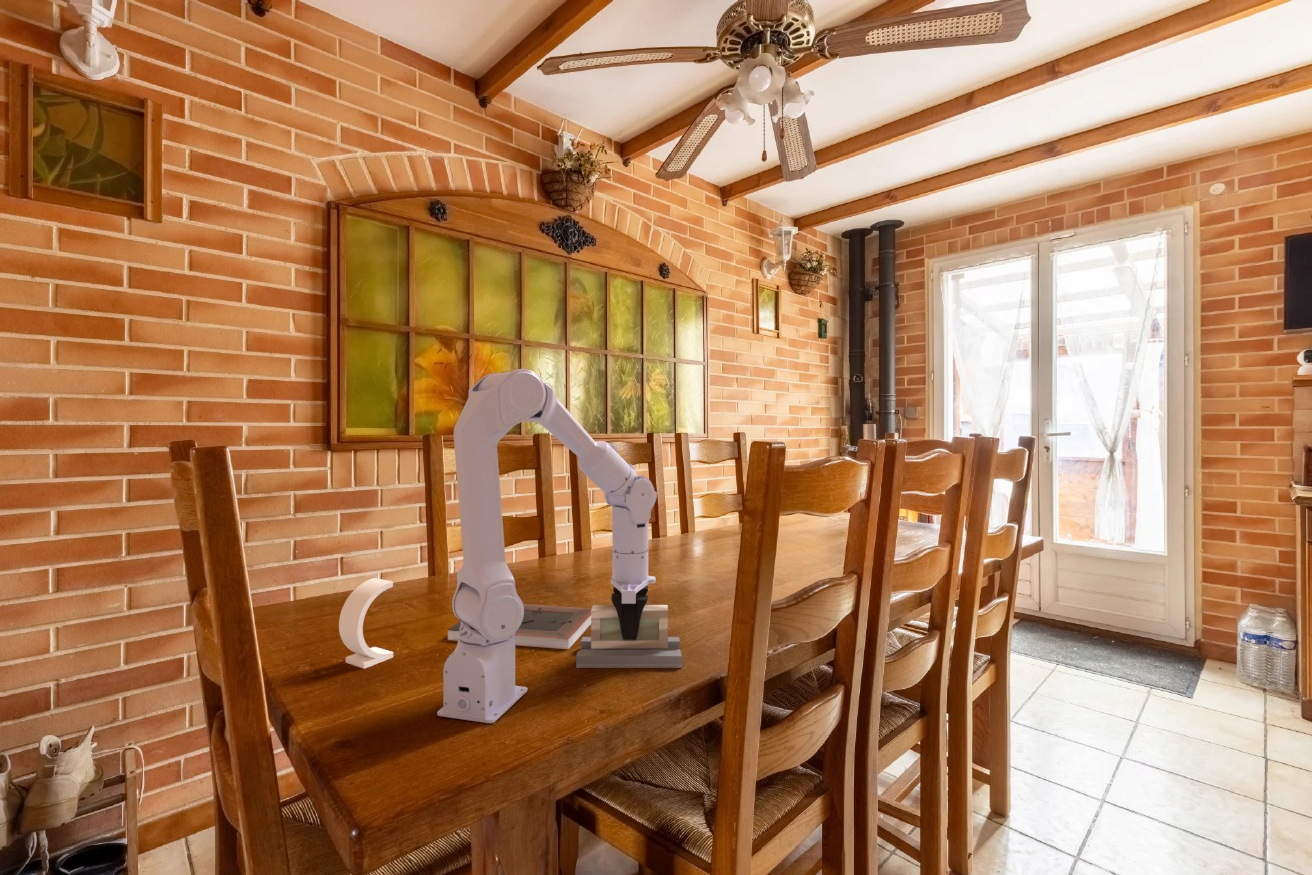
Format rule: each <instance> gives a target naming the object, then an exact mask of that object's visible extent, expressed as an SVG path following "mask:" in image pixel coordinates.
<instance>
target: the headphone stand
mask: <svg viewBox="0 0 1312 875" xmlns="http://www.w3.org/2000/svg"><path fill="white" fill-rule="evenodd" d="M393 587H394V581H391V580H386V579H381V578H377V577H373V578H371V579H368V580H366V581H364V582H361V584H359V585H358V586H357V587H356V588H354V590H353V591H352V592H351V593H350V594H349V596H348V597H347V598H346V600H345V602H344V604H343V606H342V608H341V611H340V615H339V619H338V632H339V636H340V639H341V641H342V642H343V644H344V646H346V648H347V649H348V650H350V651H351V652H353V653H354V654H351V655H348V656H346V657H345V663H347V664H349V665H351V666H355V667H358V668H360V669H363V670H364V669H368V668H370V667H372V666H375V665H377V664H379V663H382V662H385V661H388V660H390V659H392V658H394V651H392V650H391V651H390V650H387V649H384V648H381V647H377V646H372V647H369V645H368V644H367V643H366V640H365V637H364V630H363V627H364V621H365V617H366V614H367V611H368V610H369V607H370V606H371V604H372V603H373V602H374V601H375V599H376V598H377V597H378V596H380V595H381V593H383V592H385V591H387V590H388V589H391V588H393Z"/></svg>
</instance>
